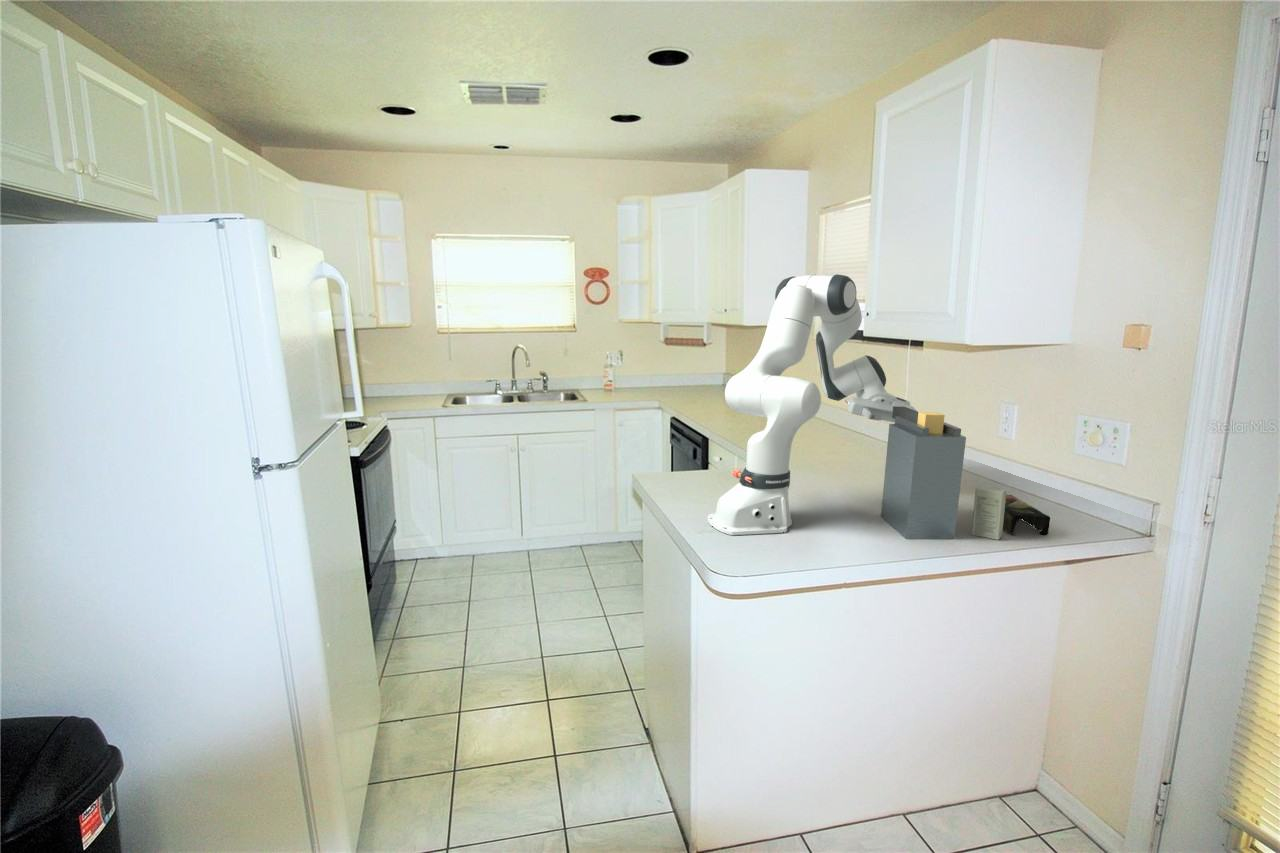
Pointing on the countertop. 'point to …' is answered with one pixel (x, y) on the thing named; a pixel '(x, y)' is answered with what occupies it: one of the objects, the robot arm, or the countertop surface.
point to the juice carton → (1023, 516)
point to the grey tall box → (922, 480)
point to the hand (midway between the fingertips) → (888, 420)
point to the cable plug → (922, 418)
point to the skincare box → (988, 512)
